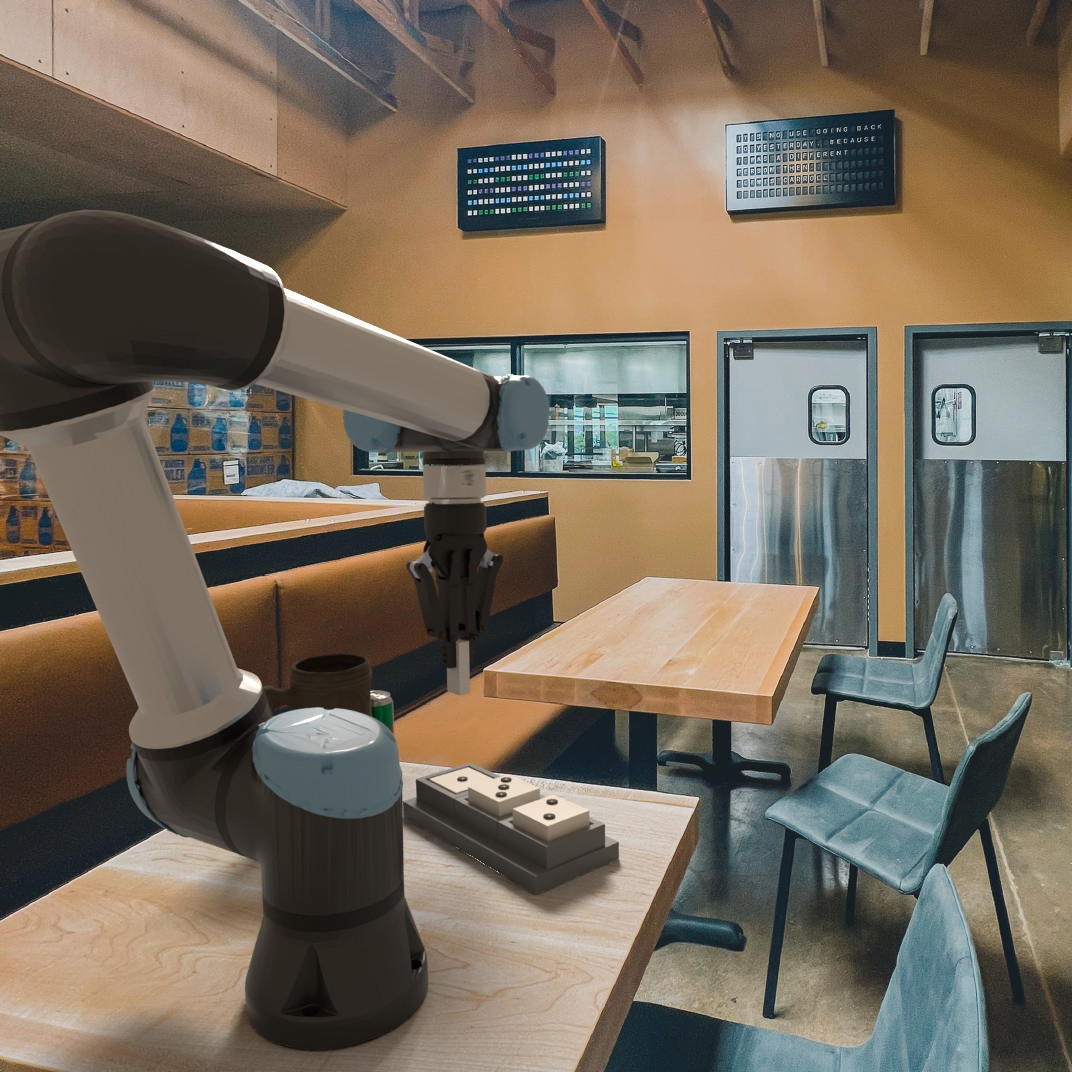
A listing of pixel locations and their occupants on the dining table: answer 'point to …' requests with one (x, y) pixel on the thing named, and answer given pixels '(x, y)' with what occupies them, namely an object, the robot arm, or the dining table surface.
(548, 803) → the tile two dots
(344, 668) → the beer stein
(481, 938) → the dining table surface
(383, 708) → the soda can
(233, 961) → the dining table surface
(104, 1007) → the dining table surface
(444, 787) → the tile one dot
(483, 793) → the tile three dots
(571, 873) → the button panel
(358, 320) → the robot arm
